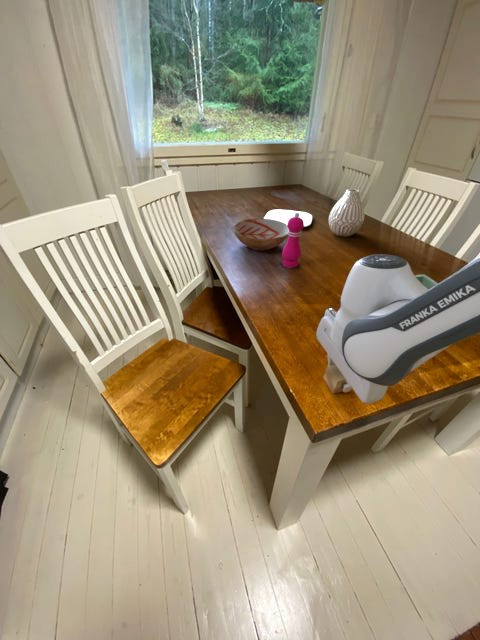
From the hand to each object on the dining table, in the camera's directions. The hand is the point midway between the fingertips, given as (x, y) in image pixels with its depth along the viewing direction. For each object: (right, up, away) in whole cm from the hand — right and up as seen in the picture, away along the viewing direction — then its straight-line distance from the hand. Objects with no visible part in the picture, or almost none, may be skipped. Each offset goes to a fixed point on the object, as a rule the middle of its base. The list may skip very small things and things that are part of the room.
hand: (338, 379), depth 62 cm
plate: (+4, +68, +87) cm, 111 cm away
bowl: (-13, +47, +61) cm, 78 cm away
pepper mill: (-2, +36, +47) cm, 59 cm away
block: (0, -1, +1) cm, 2 cm away
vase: (+28, +56, +73) cm, 97 cm away
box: (+31, +17, +24) cm, 42 cm away
